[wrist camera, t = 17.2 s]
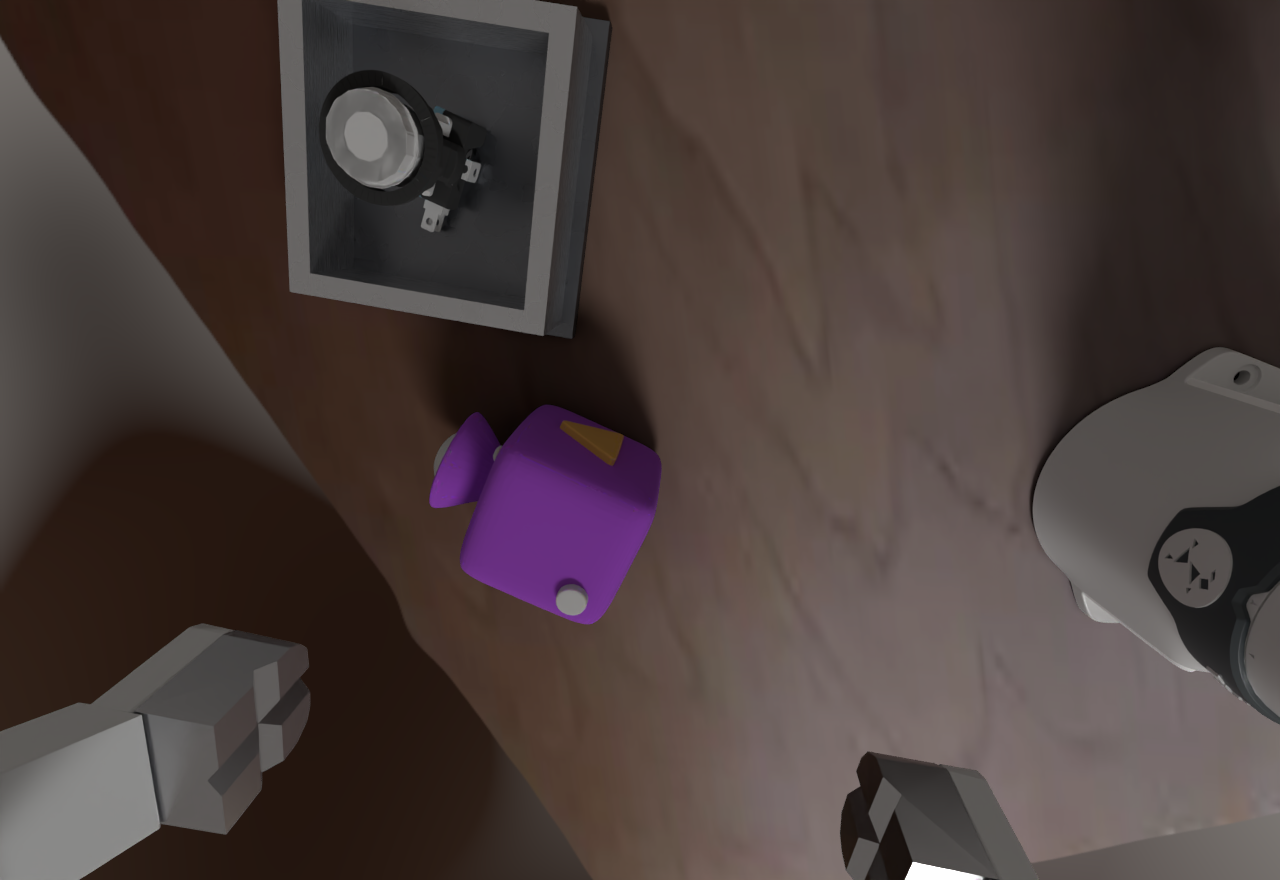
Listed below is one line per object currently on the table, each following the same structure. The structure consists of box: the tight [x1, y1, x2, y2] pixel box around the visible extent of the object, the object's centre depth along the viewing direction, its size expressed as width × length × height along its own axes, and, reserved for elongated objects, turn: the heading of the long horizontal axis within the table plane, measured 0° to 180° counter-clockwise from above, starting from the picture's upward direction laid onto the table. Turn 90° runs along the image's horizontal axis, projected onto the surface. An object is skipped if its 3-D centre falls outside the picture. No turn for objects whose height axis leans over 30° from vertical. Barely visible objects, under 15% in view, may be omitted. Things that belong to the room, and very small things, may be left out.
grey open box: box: [278, 0, 612, 339], centre depth 33 cm, size 16×17×6 cm
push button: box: [319, 70, 487, 232], centre depth 30 cm, size 7×5×10 cm
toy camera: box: [430, 405, 661, 624], centre depth 37 cm, size 11×14×10 cm
